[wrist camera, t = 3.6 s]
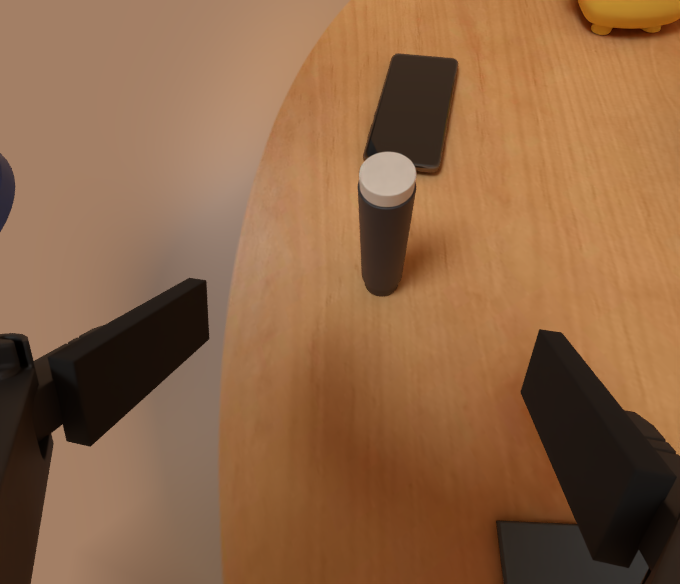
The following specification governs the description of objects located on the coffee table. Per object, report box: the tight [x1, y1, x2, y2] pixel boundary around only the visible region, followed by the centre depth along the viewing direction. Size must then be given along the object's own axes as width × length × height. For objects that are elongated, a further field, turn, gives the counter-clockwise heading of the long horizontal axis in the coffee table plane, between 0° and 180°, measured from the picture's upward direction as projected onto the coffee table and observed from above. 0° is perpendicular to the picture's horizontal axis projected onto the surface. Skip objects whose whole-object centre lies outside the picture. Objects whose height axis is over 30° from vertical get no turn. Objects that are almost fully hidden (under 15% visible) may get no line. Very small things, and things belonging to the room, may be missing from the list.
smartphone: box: [363, 54, 458, 173], centre depth 39 cm, size 7×1×16 cm
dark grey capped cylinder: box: [358, 152, 416, 296], centre depth 26 cm, size 3×3×13 cm
